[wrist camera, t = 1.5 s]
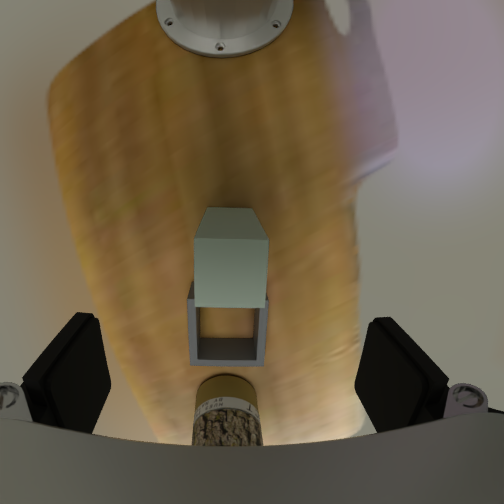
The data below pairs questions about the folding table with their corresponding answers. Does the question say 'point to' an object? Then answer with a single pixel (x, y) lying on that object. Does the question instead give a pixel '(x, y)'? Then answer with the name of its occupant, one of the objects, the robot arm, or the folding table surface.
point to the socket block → (226, 341)
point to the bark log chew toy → (226, 414)
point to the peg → (230, 259)
